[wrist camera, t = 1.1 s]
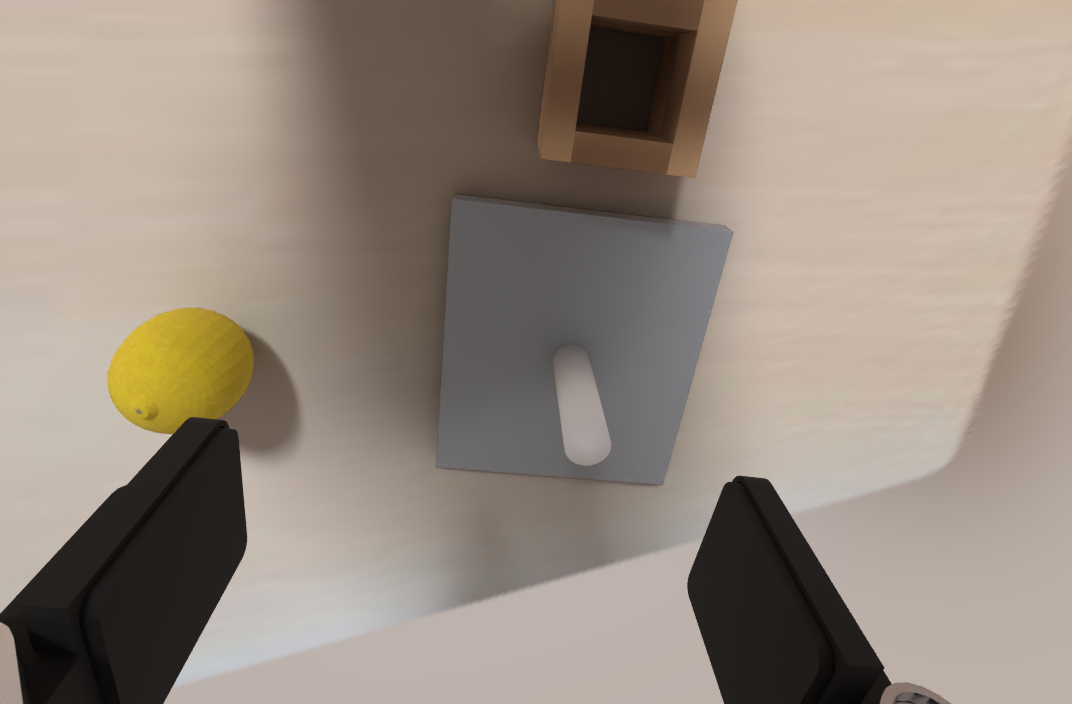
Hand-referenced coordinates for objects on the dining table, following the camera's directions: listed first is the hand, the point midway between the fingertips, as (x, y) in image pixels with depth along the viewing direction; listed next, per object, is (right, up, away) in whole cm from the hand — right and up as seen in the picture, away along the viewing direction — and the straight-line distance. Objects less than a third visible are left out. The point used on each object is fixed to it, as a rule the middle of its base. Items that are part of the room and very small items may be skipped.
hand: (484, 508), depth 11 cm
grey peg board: (+3, +3, +21) cm, 22 cm away
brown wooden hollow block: (+5, +16, +15) cm, 22 cm away
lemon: (-16, +4, +20) cm, 26 cm away
